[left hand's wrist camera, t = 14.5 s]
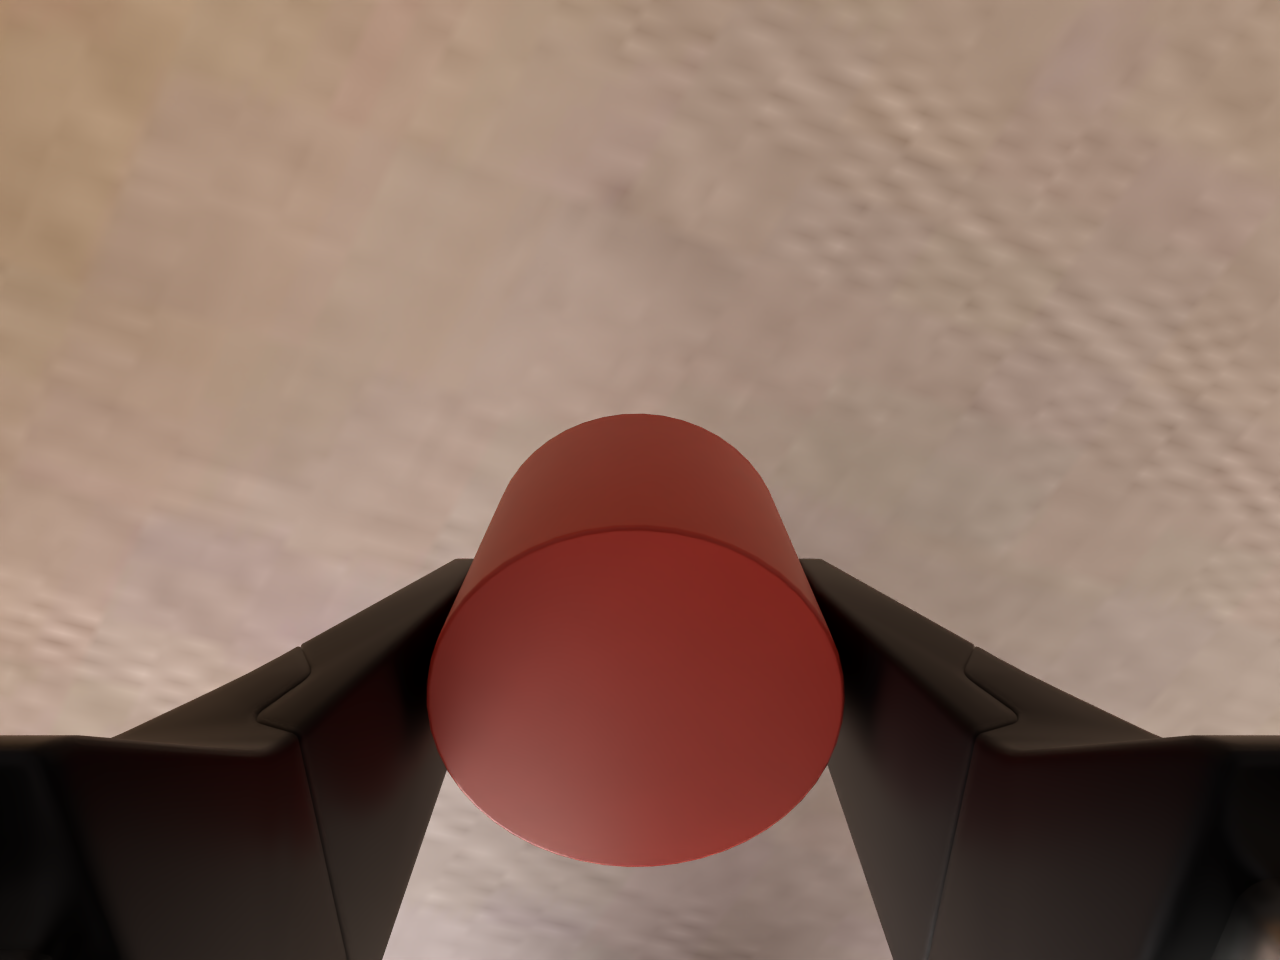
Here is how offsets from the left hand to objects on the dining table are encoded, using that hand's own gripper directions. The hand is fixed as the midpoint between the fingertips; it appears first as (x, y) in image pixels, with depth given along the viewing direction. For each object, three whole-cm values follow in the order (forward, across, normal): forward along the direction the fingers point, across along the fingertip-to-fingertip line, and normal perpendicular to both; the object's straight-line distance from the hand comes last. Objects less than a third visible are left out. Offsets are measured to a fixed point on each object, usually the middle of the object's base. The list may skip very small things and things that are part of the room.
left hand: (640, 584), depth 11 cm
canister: (+1, 0, 0) cm, 1 cm away
